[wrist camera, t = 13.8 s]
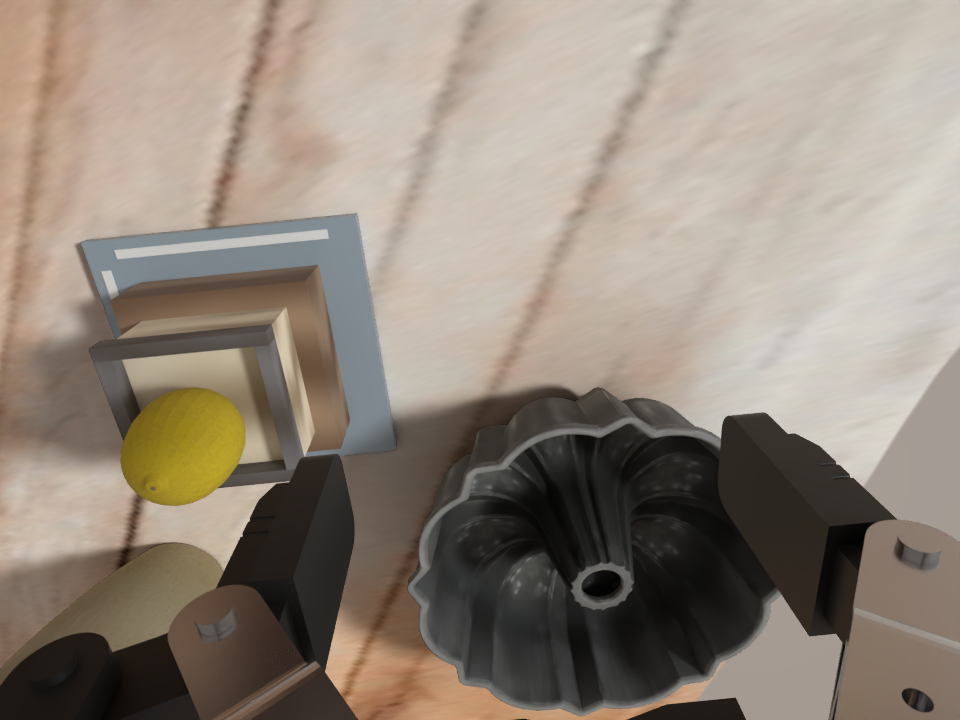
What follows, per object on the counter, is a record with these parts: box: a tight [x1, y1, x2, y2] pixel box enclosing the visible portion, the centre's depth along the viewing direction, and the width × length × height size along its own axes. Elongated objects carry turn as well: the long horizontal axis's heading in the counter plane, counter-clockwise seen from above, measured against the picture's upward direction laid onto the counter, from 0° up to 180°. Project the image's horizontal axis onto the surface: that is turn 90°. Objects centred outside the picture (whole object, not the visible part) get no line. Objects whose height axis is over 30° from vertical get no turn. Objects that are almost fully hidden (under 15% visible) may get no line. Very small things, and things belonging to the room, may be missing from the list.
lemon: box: [120, 387, 245, 506], centre depth 32 cm, size 6×6×8 cm
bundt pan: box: [407, 387, 782, 716], centre depth 45 cm, size 26×26×10 cm
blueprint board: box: [81, 213, 397, 457], centre depth 43 cm, size 18×18×1 cm
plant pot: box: [0, 543, 224, 685], centre depth 44 cm, size 15×15×16 cm
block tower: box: [89, 265, 350, 488], centre depth 38 cm, size 12×12×9 cm
